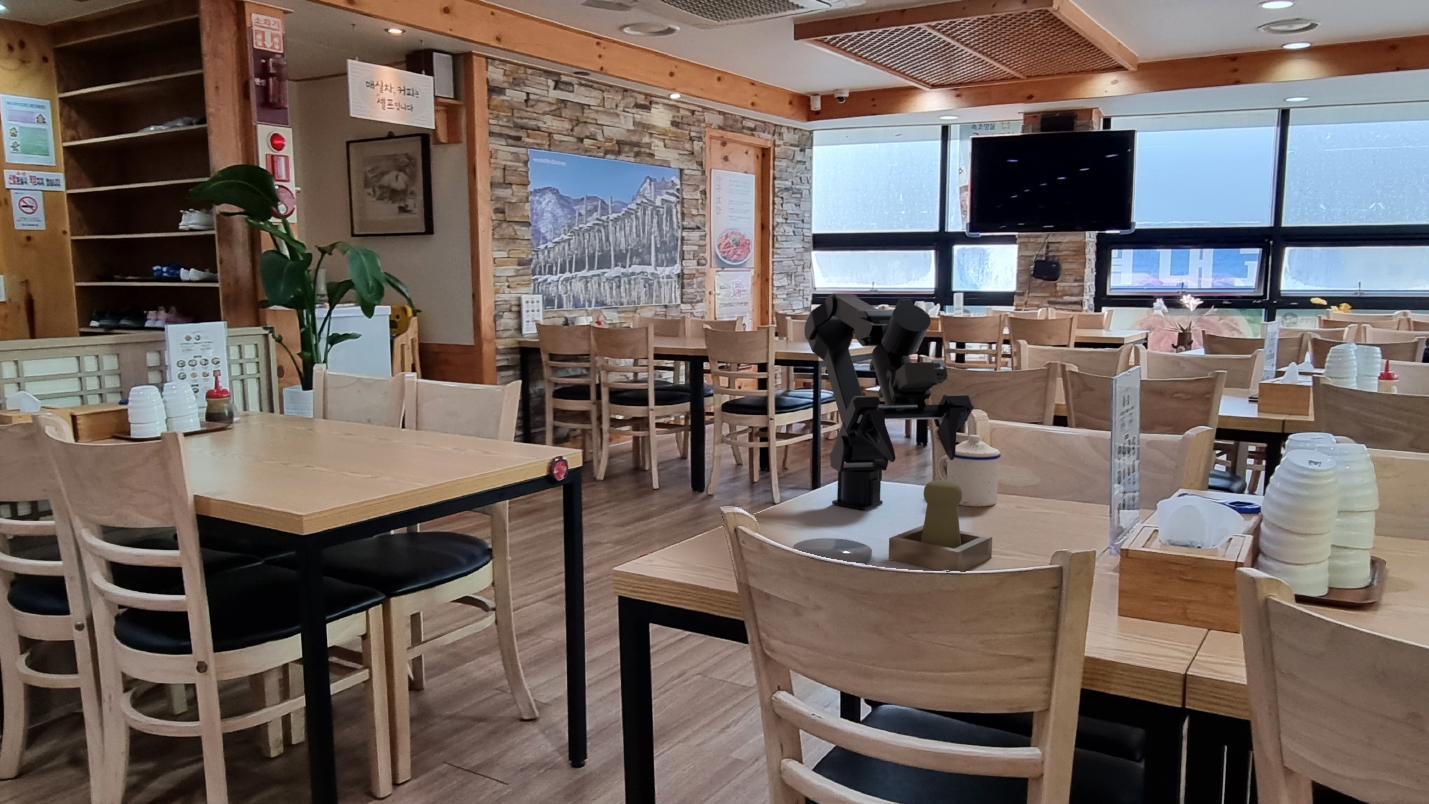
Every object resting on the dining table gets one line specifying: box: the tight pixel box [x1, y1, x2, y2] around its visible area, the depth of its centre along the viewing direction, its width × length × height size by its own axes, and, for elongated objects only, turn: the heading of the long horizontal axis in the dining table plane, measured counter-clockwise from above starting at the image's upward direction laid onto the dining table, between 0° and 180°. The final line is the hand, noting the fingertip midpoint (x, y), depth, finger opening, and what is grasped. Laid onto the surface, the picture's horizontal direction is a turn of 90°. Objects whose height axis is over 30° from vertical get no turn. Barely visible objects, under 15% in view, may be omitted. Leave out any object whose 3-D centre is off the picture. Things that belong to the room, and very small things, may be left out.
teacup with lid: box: [937, 434, 1002, 508], centre depth 176 cm, size 12×9×12 cm
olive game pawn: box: [921, 479, 962, 549], centre depth 140 cm, size 6×6×11 cm
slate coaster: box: [792, 537, 873, 564], centre depth 141 cm, size 11×11×1 cm
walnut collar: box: [888, 524, 993, 572], centre depth 140 cm, size 10×10×3 cm
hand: (923, 459), depth 145 cm, fingers open, 9 cm apart
